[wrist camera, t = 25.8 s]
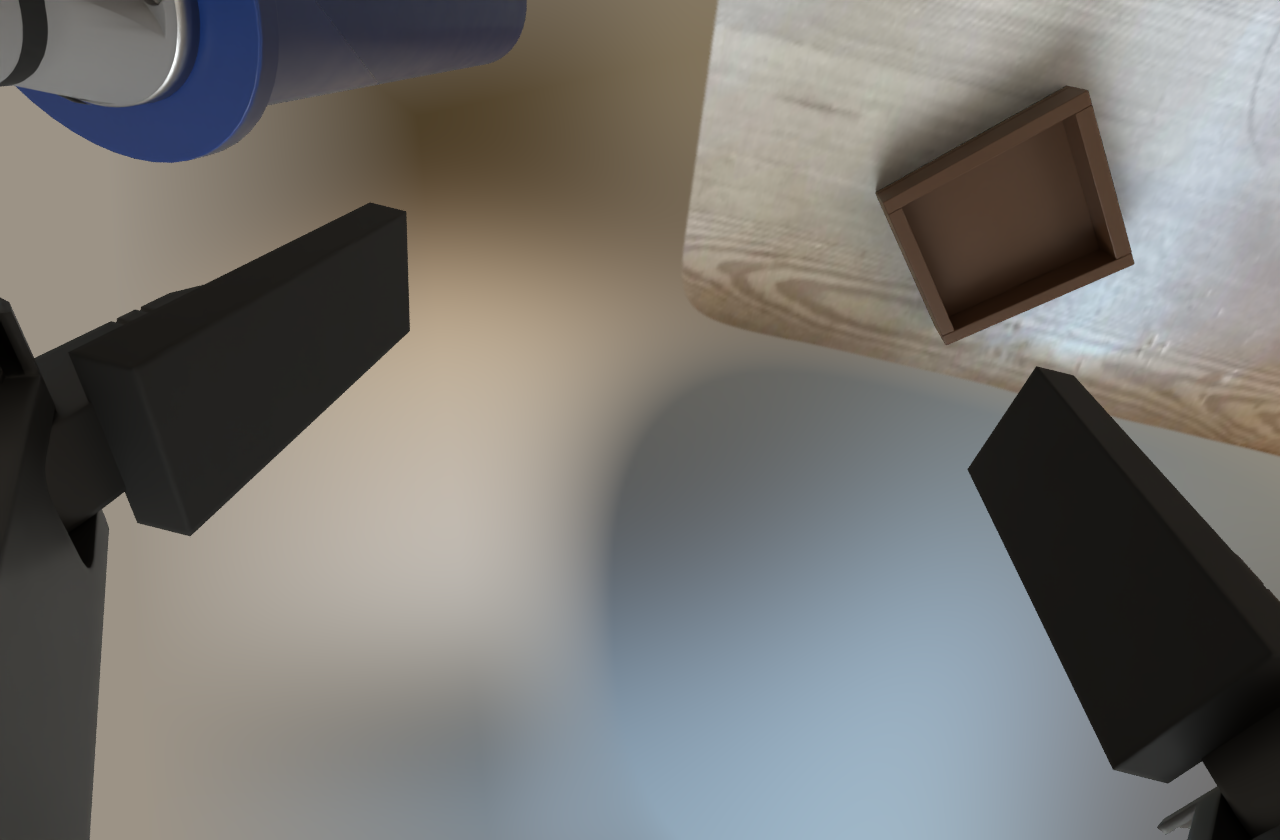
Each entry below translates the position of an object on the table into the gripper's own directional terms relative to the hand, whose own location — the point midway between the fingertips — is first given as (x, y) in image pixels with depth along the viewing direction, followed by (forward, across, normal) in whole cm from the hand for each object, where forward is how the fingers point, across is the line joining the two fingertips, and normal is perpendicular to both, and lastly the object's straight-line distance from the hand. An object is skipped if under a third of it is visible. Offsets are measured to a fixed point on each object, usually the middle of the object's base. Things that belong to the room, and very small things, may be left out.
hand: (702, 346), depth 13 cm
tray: (+29, +17, -1) cm, 33 cm away
